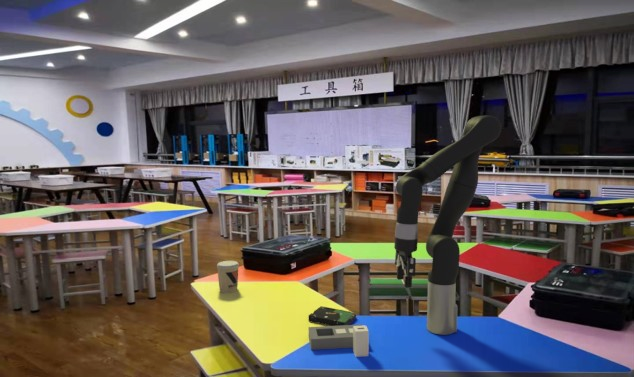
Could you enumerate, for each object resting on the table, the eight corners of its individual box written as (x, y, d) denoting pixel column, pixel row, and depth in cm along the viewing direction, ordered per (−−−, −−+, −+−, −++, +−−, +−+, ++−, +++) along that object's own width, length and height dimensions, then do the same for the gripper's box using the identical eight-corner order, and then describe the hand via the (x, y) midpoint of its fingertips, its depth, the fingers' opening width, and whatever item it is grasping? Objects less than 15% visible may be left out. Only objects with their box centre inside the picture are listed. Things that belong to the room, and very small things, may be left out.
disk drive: (308, 322, 160) (345, 330, 154) (307, 315, 160) (345, 322, 153) (320, 312, 170) (356, 319, 163) (320, 305, 169) (356, 311, 163)
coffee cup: (229, 294, 188) (228, 267, 187) (213, 290, 193) (212, 264, 192) (243, 288, 196) (242, 262, 195) (227, 284, 201) (227, 259, 200)
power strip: (361, 334, 149) (361, 323, 149) (367, 346, 140) (367, 334, 140) (308, 337, 147) (308, 325, 147) (311, 349, 138) (311, 337, 138)
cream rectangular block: (365, 349, 138) (365, 325, 137) (368, 356, 134) (368, 330, 133) (353, 350, 138) (353, 325, 137) (355, 356, 134) (355, 331, 133)
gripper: (424, 240, 141) (421, 290, 142) (410, 231, 155) (407, 276, 156) (402, 240, 140) (399, 290, 142) (389, 231, 154) (387, 276, 156)
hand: (403, 283), depth 149 cm, fingers open, 8 cm apart
